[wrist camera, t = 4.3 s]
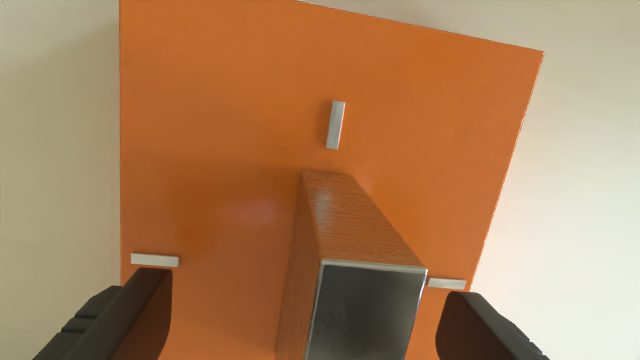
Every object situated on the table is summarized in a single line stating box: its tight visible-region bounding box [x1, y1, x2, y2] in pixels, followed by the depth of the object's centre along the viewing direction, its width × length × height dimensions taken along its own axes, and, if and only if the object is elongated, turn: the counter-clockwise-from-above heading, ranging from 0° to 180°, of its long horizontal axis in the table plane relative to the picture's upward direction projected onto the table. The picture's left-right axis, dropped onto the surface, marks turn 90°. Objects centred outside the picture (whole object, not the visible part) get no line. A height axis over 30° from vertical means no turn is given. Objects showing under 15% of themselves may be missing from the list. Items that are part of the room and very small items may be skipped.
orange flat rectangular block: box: [119, 0, 544, 360], centre depth 12 cm, size 16×12×3 cm
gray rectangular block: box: [274, 168, 428, 360], centre depth 8 cm, size 7×2×6 cm, turn 171°
